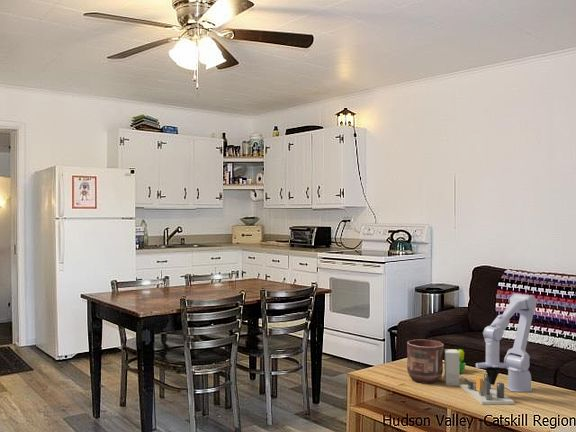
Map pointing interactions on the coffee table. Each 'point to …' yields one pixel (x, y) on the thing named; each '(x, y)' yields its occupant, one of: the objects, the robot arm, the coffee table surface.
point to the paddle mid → (479, 383)
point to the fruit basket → (461, 364)
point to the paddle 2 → (486, 388)
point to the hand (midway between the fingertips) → (492, 384)
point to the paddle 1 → (467, 381)
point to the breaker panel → (493, 398)
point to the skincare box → (451, 367)
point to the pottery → (425, 360)
